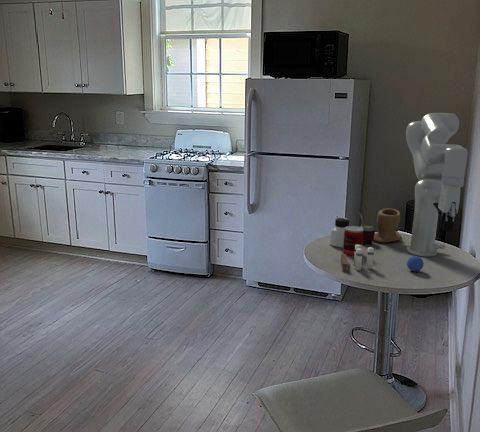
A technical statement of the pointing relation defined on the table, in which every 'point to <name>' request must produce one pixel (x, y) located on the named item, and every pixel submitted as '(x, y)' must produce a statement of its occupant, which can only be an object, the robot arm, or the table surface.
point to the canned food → (352, 239)
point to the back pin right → (355, 251)
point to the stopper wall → (344, 262)
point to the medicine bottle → (338, 232)
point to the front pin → (370, 258)
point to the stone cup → (387, 225)
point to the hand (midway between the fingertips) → (446, 229)
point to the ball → (415, 263)
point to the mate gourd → (367, 233)
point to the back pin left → (358, 259)
